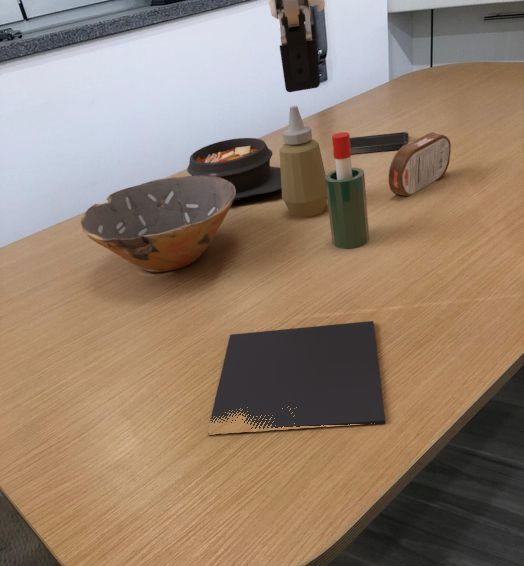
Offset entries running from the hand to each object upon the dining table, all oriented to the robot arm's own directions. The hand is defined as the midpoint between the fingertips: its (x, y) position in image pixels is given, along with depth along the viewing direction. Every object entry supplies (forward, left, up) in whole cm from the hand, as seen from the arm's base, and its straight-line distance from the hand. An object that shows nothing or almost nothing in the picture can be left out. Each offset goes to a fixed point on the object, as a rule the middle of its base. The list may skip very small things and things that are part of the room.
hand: (303, 78), depth 60 cm
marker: (-3, -21, -28) cm, 35 cm away
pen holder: (-3, -21, -29) cm, 35 cm away
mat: (+4, +11, -29) cm, 31 cm away
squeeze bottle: (+4, -35, -29) cm, 45 cm away
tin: (-16, -40, -29) cm, 52 cm away
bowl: (+26, -23, -29) cm, 45 cm away
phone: (-9, -67, -29) cm, 73 cm away
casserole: (+19, -51, -29) cm, 61 cm away
